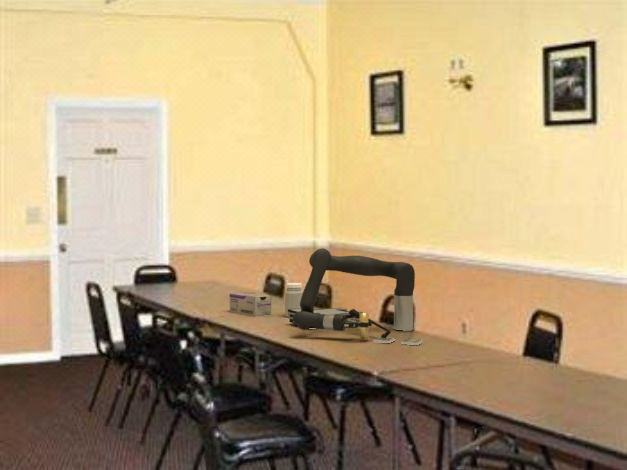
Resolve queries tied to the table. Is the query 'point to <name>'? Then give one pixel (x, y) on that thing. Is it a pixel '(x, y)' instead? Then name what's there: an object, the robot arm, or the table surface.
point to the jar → (293, 296)
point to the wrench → (357, 315)
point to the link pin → (362, 329)
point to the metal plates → (406, 341)
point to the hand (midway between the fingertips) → (369, 324)
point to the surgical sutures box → (250, 304)
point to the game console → (323, 311)
